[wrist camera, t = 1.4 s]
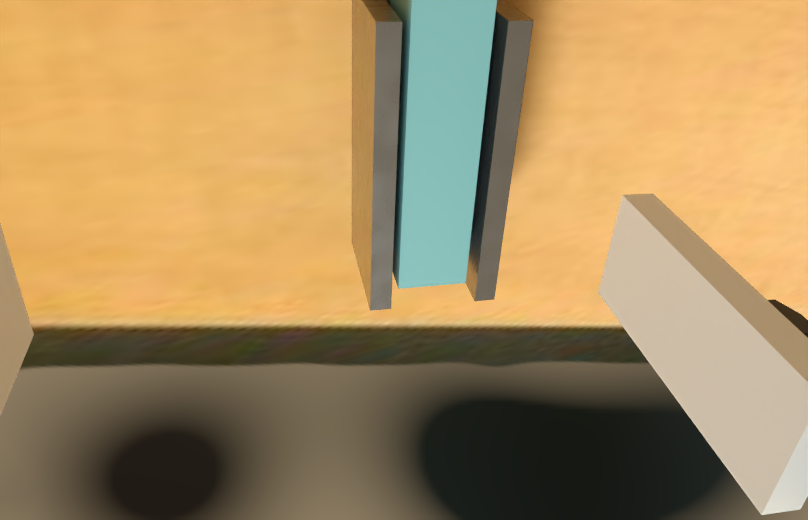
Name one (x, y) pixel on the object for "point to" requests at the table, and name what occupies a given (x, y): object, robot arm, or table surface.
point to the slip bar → (439, 135)
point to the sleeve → (379, 139)
